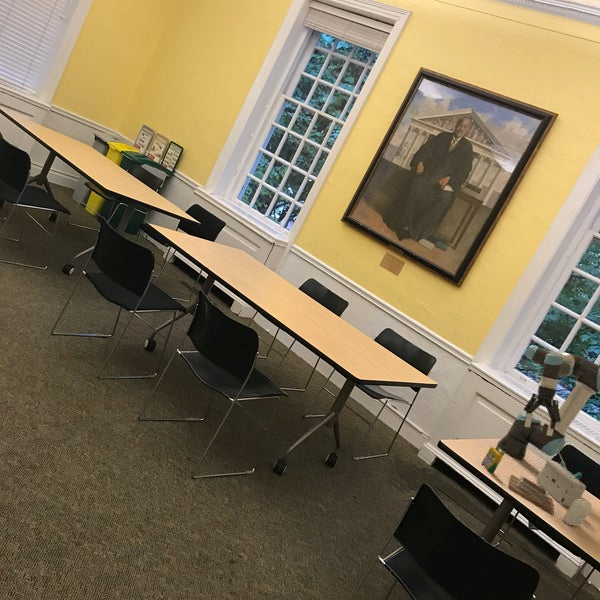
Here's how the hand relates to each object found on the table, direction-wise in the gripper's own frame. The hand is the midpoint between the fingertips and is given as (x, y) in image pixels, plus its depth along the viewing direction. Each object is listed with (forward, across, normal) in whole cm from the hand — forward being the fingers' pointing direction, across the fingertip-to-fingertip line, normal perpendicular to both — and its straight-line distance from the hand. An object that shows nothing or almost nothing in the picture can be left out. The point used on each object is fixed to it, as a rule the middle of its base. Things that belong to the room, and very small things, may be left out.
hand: (538, 431), depth 274 cm
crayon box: (+22, -7, -19) cm, 30 cm away
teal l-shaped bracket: (+28, -23, +47) cm, 59 cm away
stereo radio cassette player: (+30, 0, +18) cm, 35 cm away
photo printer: (+34, +24, +4) cm, 42 cm away
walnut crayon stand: (+28, +8, -5) cm, 29 cm away
